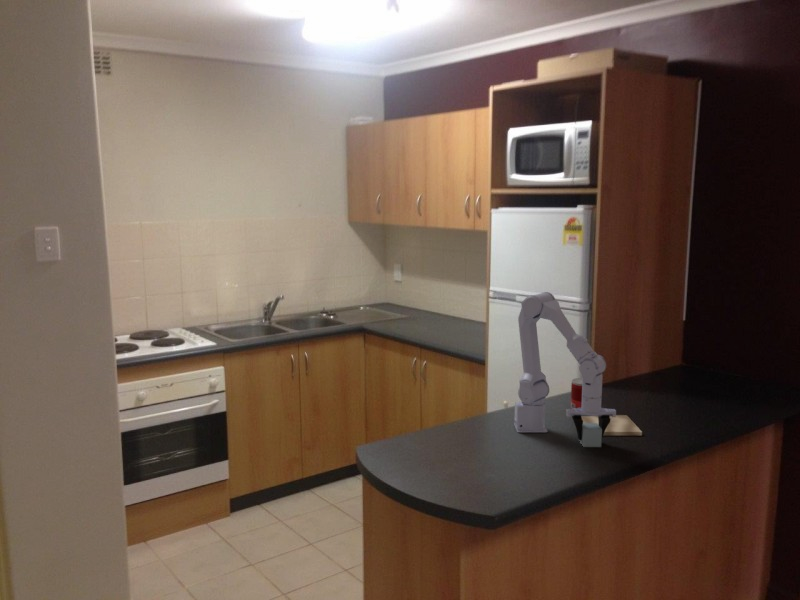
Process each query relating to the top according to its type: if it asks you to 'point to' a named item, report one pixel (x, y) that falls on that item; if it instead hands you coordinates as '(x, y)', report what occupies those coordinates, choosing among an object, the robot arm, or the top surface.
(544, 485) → the top surface
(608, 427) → the board
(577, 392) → the canned food
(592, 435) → the cube
